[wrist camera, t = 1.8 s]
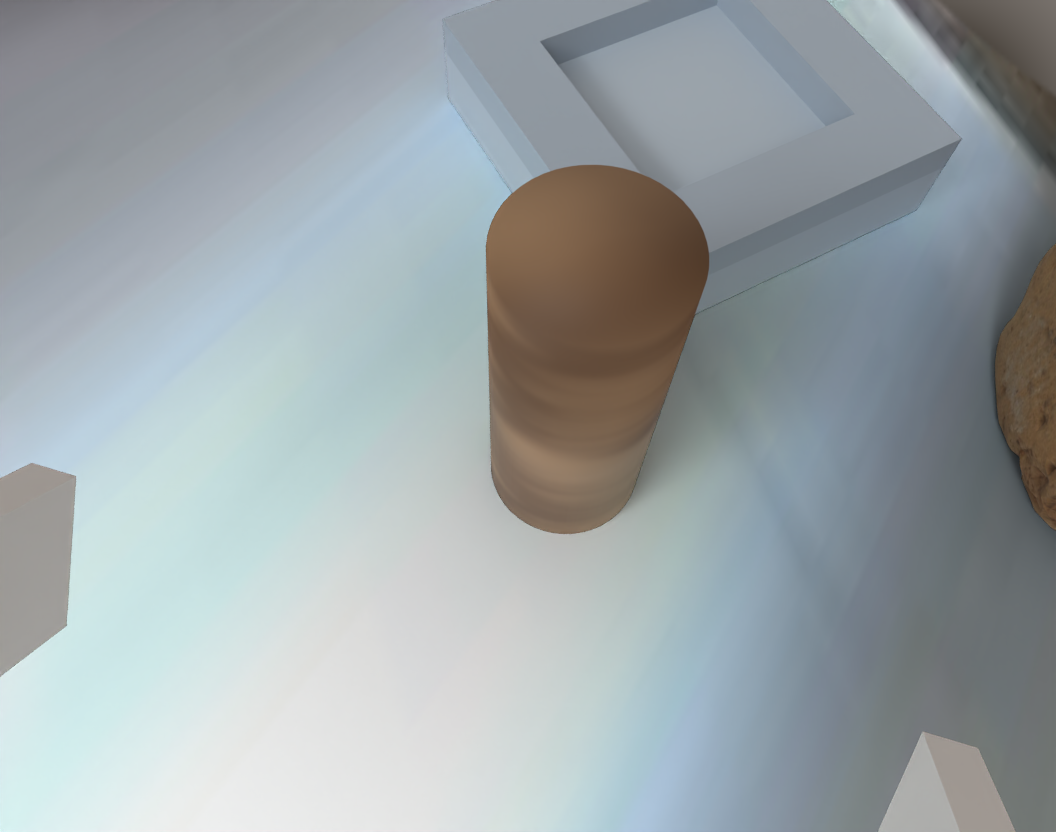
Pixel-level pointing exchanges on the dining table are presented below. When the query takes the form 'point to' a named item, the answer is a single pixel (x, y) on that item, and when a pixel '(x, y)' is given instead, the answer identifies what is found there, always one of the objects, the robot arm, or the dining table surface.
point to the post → (584, 336)
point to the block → (1032, 387)
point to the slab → (705, 116)
